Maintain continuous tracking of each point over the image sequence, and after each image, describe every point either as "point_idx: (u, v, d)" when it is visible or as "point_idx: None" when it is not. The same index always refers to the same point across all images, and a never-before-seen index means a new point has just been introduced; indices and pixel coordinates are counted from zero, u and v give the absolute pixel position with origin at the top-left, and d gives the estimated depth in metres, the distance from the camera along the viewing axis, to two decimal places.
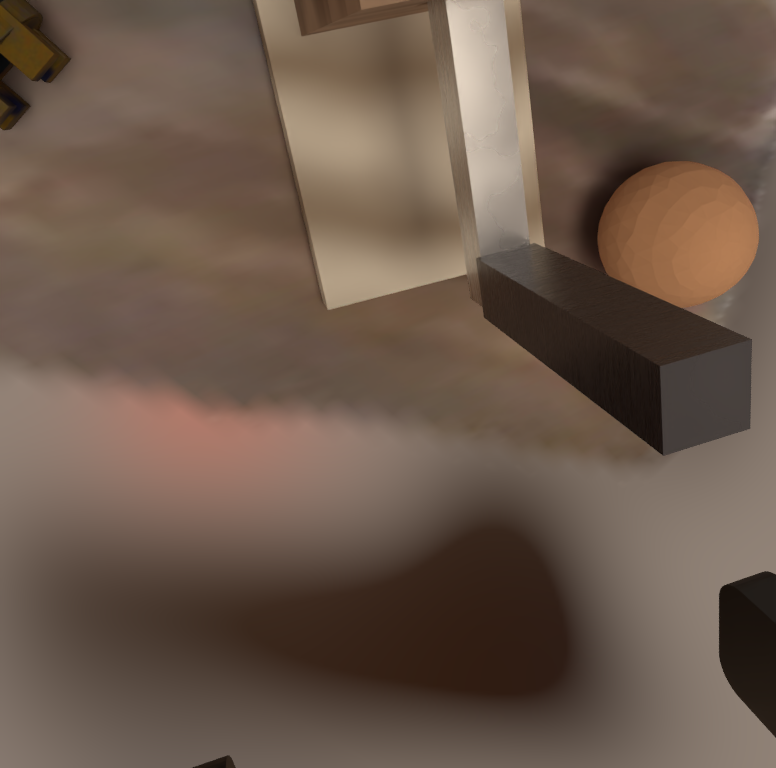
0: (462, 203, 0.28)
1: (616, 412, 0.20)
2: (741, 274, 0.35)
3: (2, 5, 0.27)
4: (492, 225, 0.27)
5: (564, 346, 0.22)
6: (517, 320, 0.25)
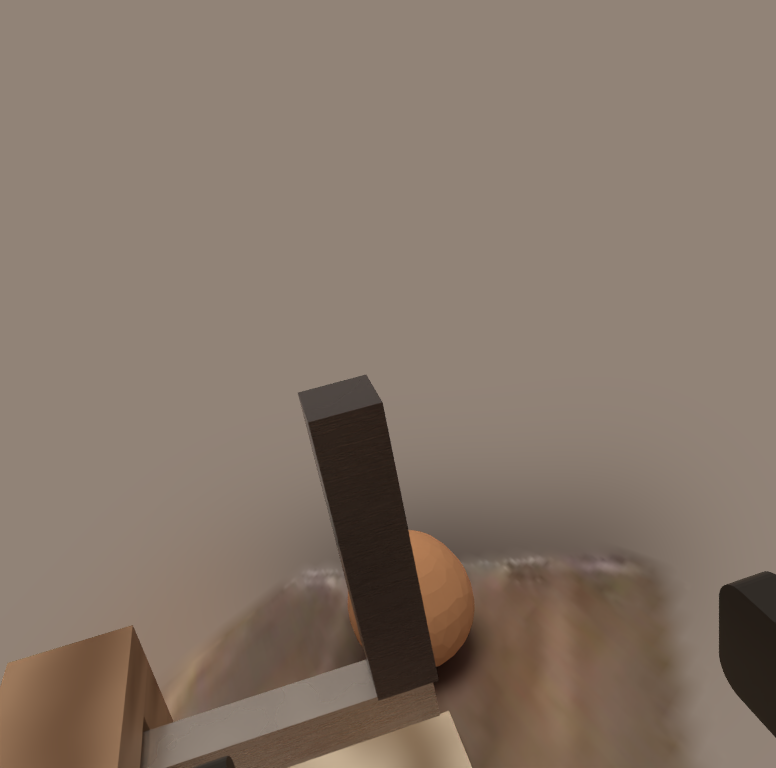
0: (337, 736, 0.28)
1: (387, 462, 0.24)
2: (418, 532, 0.43)
3: None
4: (347, 693, 0.28)
5: (375, 541, 0.25)
6: (400, 618, 0.27)
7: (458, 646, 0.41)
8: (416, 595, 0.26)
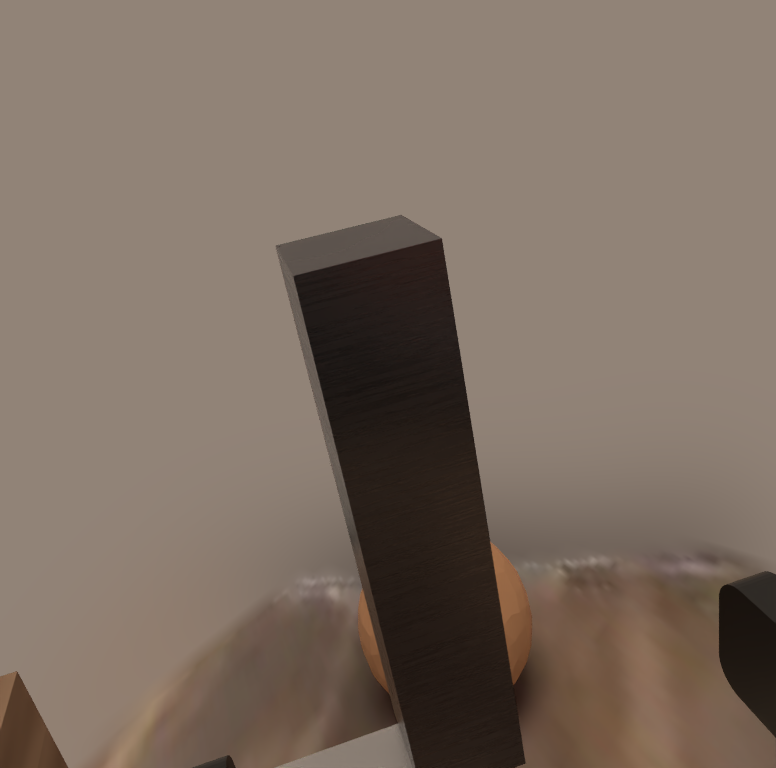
0: None
1: (448, 366, 0.12)
2: None
3: None
4: None
5: (423, 521, 0.13)
6: (464, 660, 0.15)
7: (513, 681, 0.30)
8: (493, 620, 0.15)
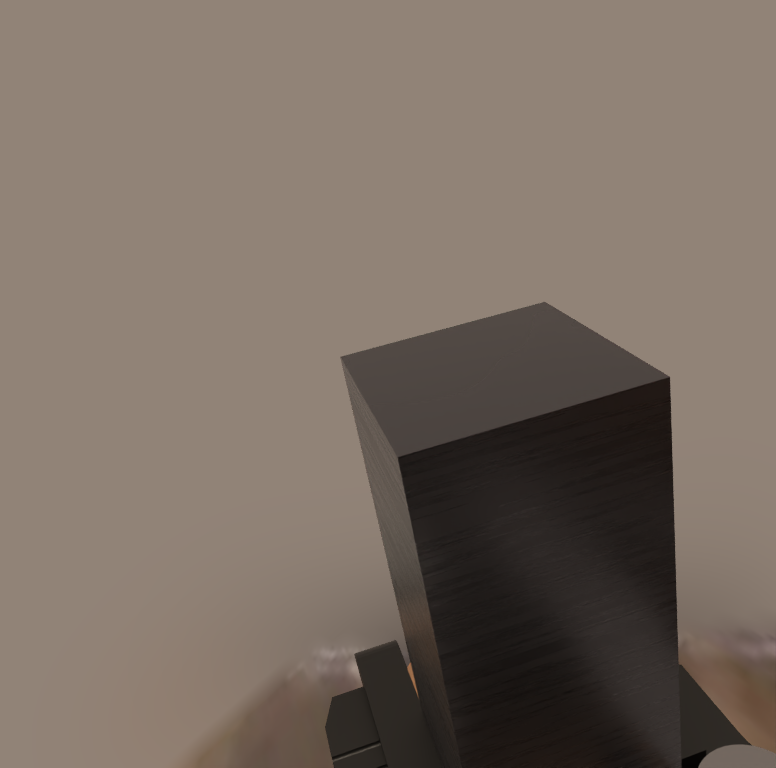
0: None
1: (654, 586, 0.07)
2: None
3: None
4: None
5: None
6: None
7: None
8: None
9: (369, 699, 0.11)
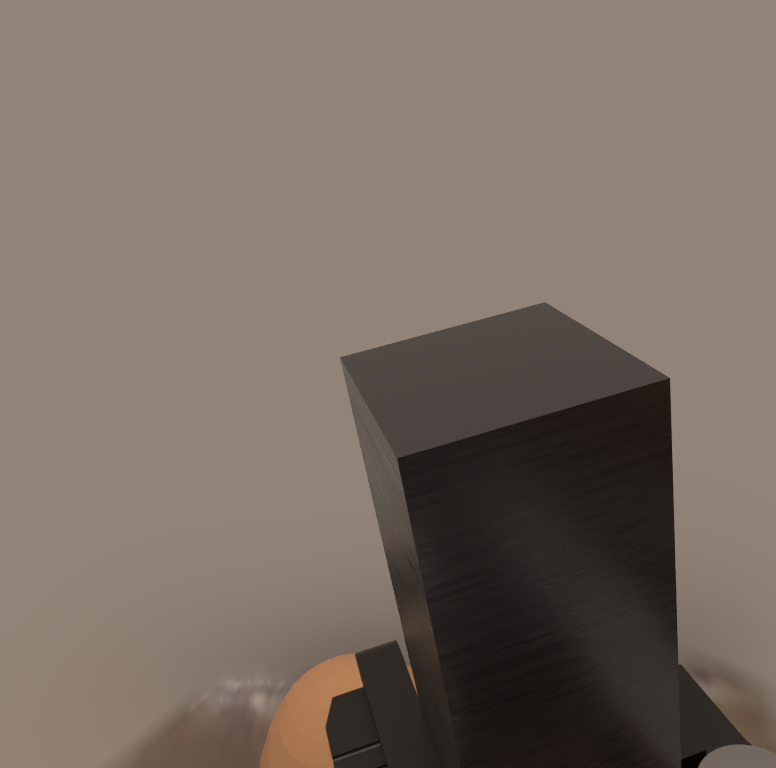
0: None
1: (654, 587, 0.07)
2: None
3: None
4: None
5: None
6: None
7: None
8: None
9: (369, 699, 0.11)
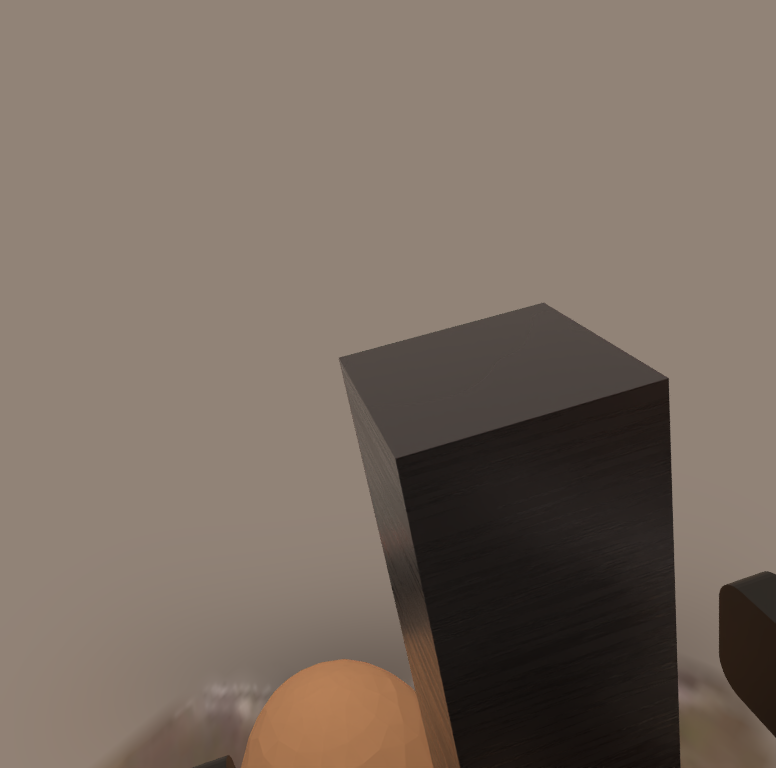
0: None
1: (653, 587, 0.07)
2: (361, 666, 0.25)
3: None
4: None
5: None
6: None
7: None
8: None
9: None
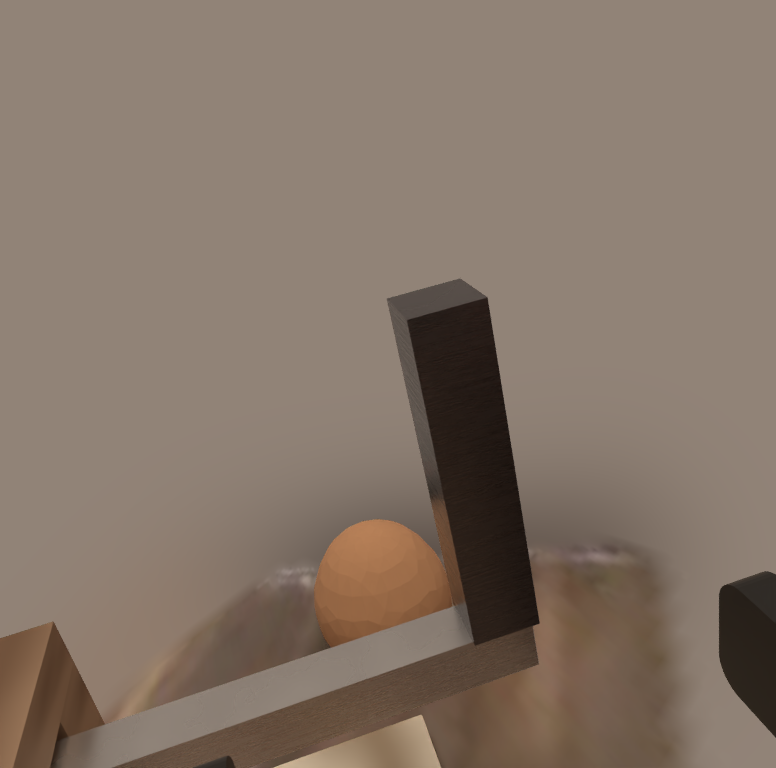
0: (429, 686, 0.26)
1: (491, 368, 0.22)
2: (389, 521, 0.40)
3: None
4: (439, 640, 0.26)
5: (476, 460, 0.23)
6: (500, 550, 0.24)
7: None
8: (518, 524, 0.24)
9: None
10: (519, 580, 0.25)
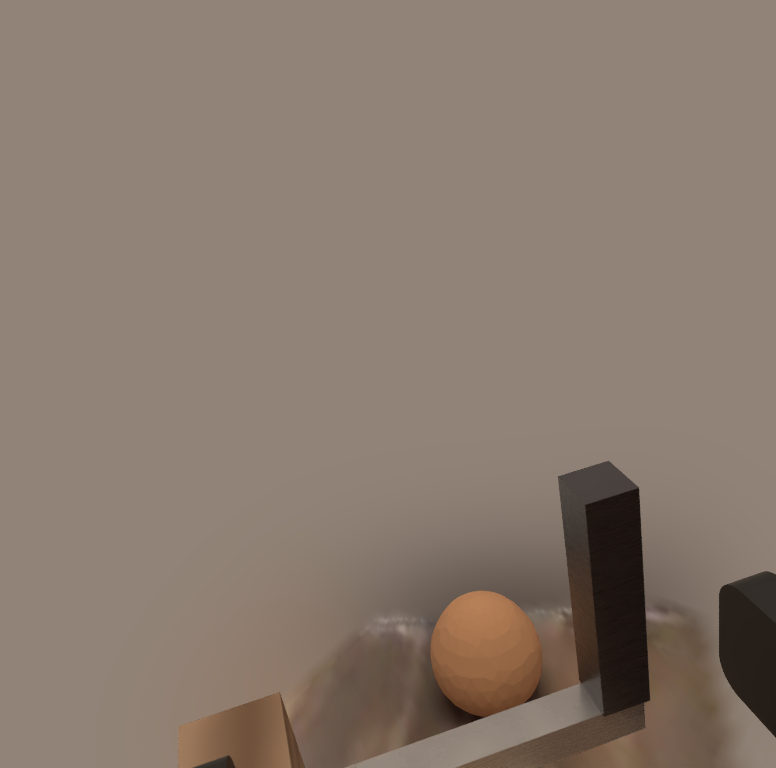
0: (568, 745, 0.35)
1: (636, 532, 0.31)
2: (493, 593, 0.49)
3: None
4: (575, 711, 0.35)
5: (619, 592, 0.32)
6: (628, 651, 0.33)
7: (530, 694, 0.47)
8: (643, 633, 0.33)
9: None
10: (639, 671, 0.34)
